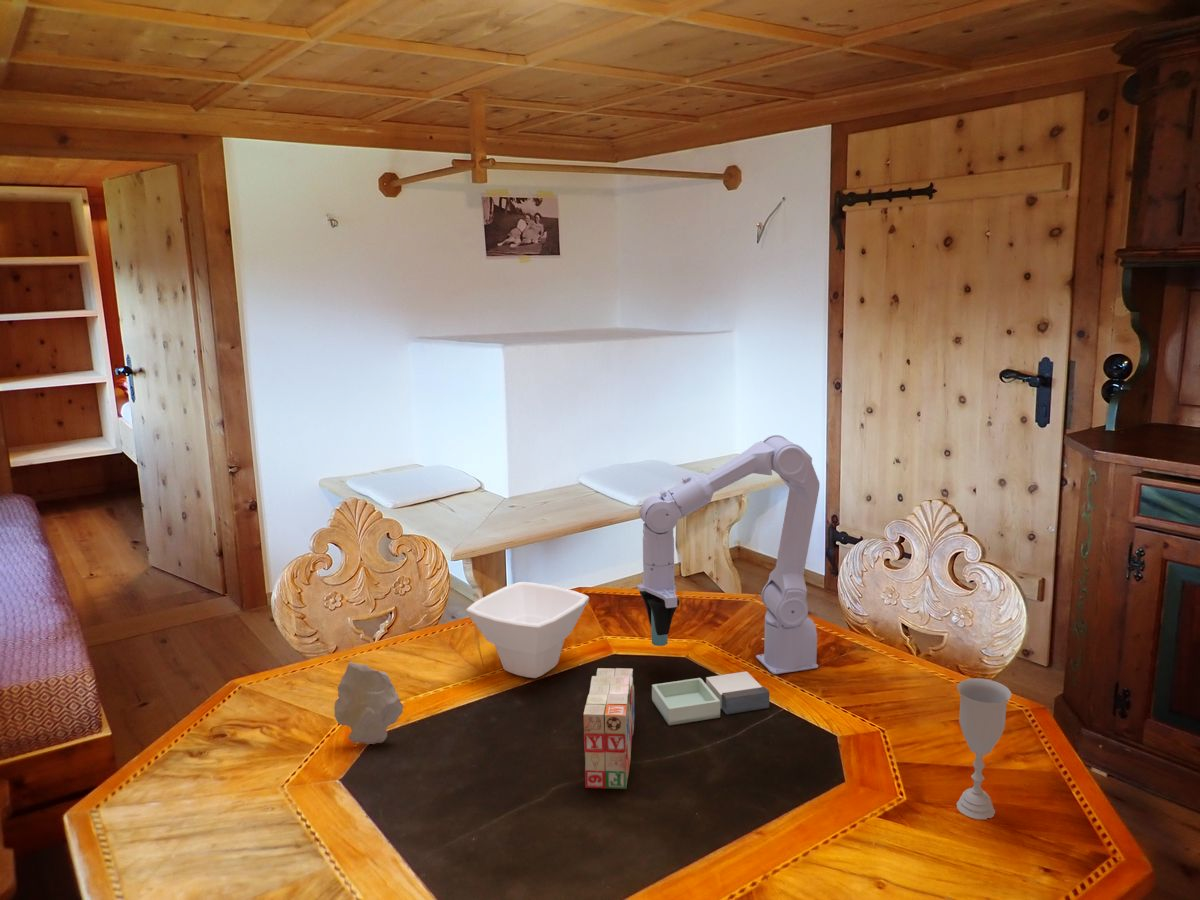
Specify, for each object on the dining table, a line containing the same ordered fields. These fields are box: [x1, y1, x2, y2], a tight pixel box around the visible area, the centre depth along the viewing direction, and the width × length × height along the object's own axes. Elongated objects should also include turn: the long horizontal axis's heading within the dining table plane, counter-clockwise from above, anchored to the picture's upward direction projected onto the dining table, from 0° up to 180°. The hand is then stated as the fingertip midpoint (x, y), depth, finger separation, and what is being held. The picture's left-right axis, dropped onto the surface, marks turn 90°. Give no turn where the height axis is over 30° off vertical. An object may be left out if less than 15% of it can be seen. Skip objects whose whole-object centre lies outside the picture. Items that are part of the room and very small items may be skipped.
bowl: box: [465, 581, 590, 679], centre depth 170 cm, size 19×19×14 cm
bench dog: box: [721, 686, 771, 715], centre depth 154 cm, size 8×2×3 cm, turn 105°
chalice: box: [956, 677, 1012, 820], centre depth 123 cm, size 7×7×18 cm
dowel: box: [650, 610, 669, 647], centre depth 166 cm, size 3×3×8 cm
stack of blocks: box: [583, 667, 636, 790], centre depth 141 cm, size 21×6×12 cm, turn 175°
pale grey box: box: [705, 671, 763, 710], centre depth 159 cm, size 8×7×3 cm
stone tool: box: [333, 661, 404, 746], centre depth 144 cm, size 11×4×15 cm, turn 95°
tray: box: [651, 677, 721, 726], centre depth 155 cm, size 9×9×3 cm
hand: (659, 630), depth 166 cm, fingers closed on dowel, 3 cm apart
